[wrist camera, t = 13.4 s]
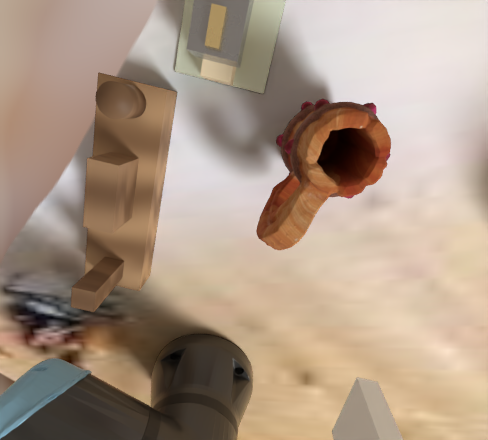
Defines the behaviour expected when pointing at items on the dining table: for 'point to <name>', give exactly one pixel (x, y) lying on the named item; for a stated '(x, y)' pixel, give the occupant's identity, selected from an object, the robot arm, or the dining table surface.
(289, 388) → the dining table surface
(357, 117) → the mug
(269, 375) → the dining table surface
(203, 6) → the lever cap
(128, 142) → the wooden peg board
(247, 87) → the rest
